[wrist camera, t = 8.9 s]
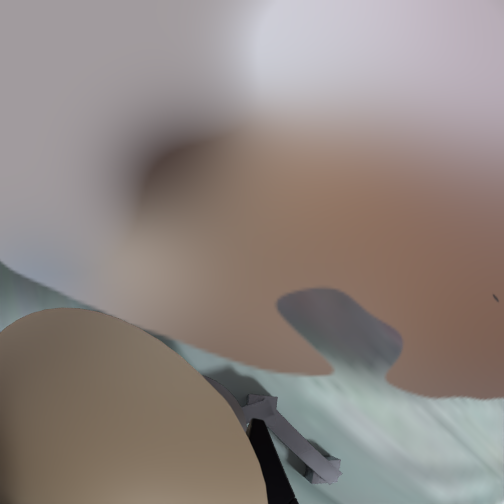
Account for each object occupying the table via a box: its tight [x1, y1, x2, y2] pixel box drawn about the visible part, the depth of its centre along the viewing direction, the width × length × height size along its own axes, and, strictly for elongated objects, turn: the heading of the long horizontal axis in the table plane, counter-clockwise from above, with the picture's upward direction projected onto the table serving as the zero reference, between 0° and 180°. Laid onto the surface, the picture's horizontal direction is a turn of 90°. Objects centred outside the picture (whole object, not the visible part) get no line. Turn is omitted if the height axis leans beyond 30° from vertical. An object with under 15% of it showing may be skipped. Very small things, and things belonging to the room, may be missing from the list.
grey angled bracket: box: [241, 394, 342, 484], centre depth 16 cm, size 7×13×3 cm, turn 83°
